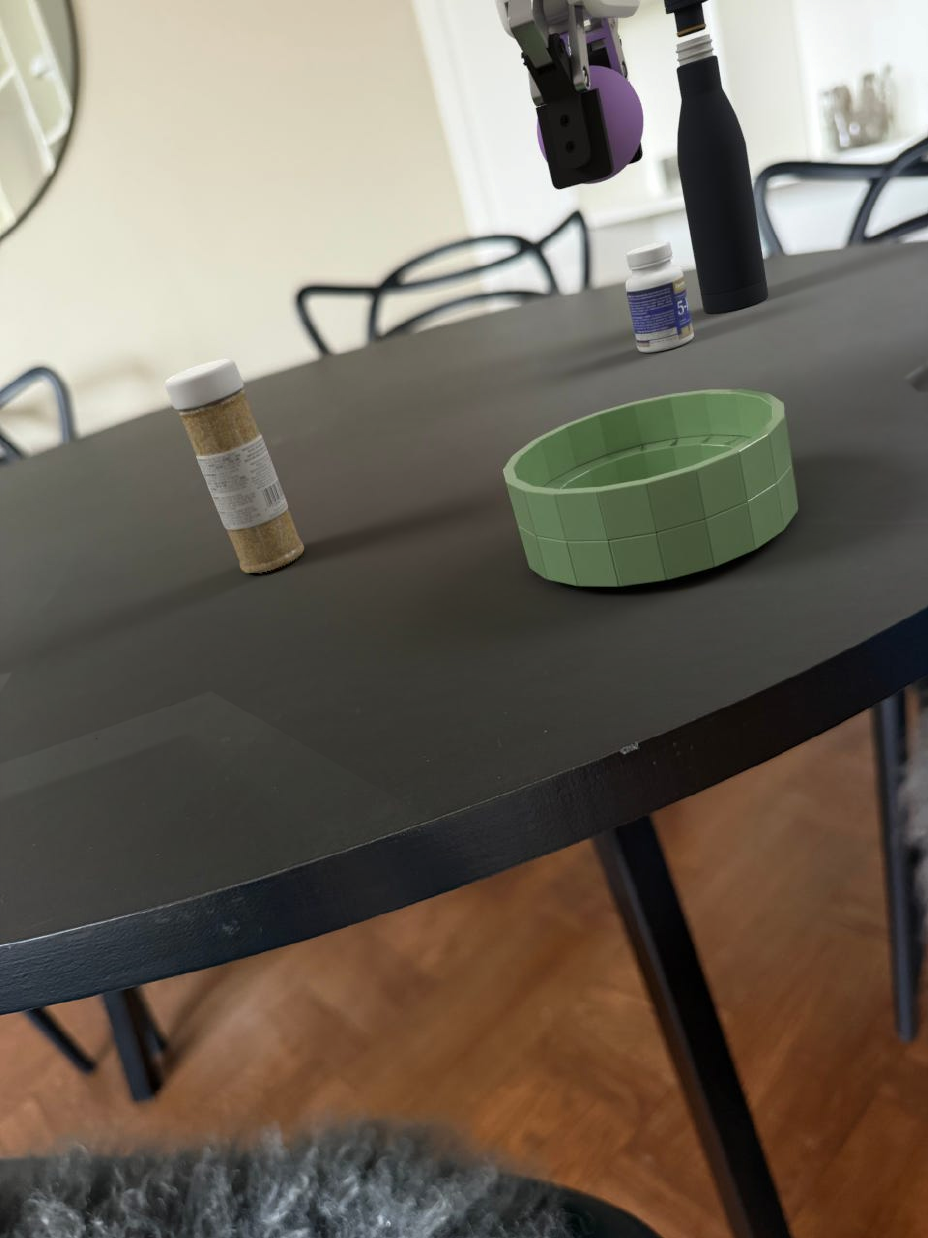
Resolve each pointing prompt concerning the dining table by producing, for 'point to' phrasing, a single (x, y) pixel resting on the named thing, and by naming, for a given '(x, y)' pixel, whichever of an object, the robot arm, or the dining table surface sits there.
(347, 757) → the dining table surface
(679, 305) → the pill bottle
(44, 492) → the dining table surface
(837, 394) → the dining table surface
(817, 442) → the dining table surface
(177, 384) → the spice jar
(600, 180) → the ball
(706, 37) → the black water bottle
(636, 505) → the bowl
